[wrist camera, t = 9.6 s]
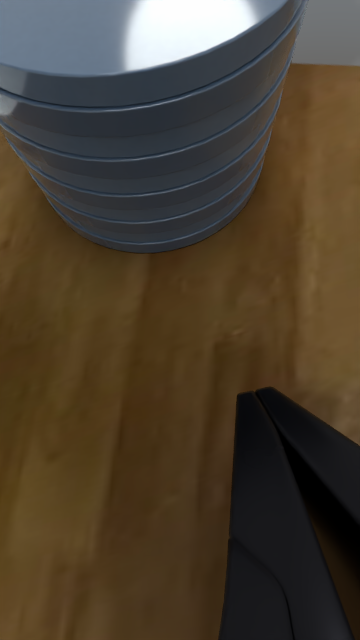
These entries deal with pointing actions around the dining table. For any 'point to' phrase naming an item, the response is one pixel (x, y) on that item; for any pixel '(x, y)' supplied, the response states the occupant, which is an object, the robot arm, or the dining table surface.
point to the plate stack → (144, 109)
